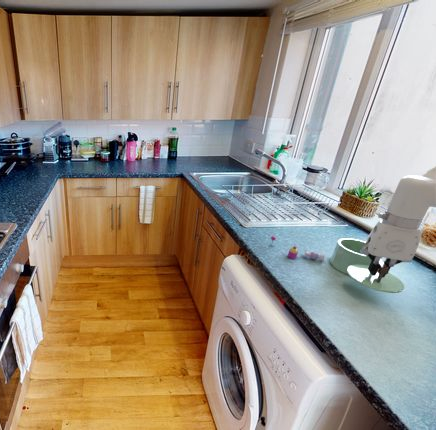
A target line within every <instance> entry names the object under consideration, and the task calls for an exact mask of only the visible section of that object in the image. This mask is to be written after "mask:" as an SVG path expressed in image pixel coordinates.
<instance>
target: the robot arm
mask: <svg viewBox="0 0 436 430" xmlns="http://www.w3.org/2000/svg"><path fill="white" fill-rule="evenodd" d="M429 208H436V165H434V166H432V168H429V169H428V170H427V171H425V172H424V173H422V174H421V175H405V176H403V177H402V178H400V180H399V182H398V184H397V186H396V187H395V191H394V192H393V195H392V198H391V200H390V201H389V204H388V207H387V209H386V210H385V211H384V212H383V213H381V212H380V213H378V215H377V217H378V219H379V220H378V222H376V224H375V225H374V227H373V228H372V230H371V231H370V233H369V235H368V236H367V238H366V240H365V242H366V243H365V246H364V247H363V248H362V249H361V250H360V252H361V253H362V254H364V255H366V256H368V257H369V258H370V259H371V260H372V261H371V263H370V265H369V267H368V270H369V272H370V273H371V275H372V276H375V275H376V273H377V271H378V273H379V274H380V271H379V266H380V265H379V261H380V259H381V257H382V258H385V259H384V260H382V261H383V262H384V263H385V265H386V266H387V267H388V268H389V269H388V271H387V273H384V275H383V278H384V277H385V275H386V274H388V273H389V272H390V270H391V268H393V267H395V265H399V264H401V263H411V262H412V260H413V259H414V257H415V254H416V253H417V249H418V247H419V245H420V241H421V239H422V232H423V229H422V228H421V227H420V226H421V224H422V222H423V220H424V218H425V216H426V214H427V213H428V210H429Z"/></svg>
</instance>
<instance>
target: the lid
mask: <svg viewBox="0 0 436 430" xmlns="http://www.w3.org/2000/svg"><path fill="white" fill-rule="evenodd" d="M383 261H384V260H383V258H382V259H380V261H379V265H380V266H379V271H380V274H379V273H378V271H377V273H376V275H375V276H372V275H371V273H370V272H369V270H368V267H369V266H367V265H351V266H349V267H348V268H347V273H348V274H347V275H348V277H350V278H351V279H352V280H353V281H355V282H357V283H358V284H360V285H362V286H364V287H366V288H369V289H371V290H374V291H378V292H381V293H386V294H399V293H401V292H403V291H404V290H405V284H404V282H403V281H402V280H401V279H399V278H398V277H397V276H395V275H393V274H392V273H389V272H388V274H386V275H385V277H384V278H383V275H384V273H387V271H388V269H389V268H388V267H387V266H386V265H385V263H384V262H383Z"/></svg>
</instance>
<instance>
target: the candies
mask: <svg viewBox="0 0 436 430" xmlns="http://www.w3.org/2000/svg"><path fill="white" fill-rule="evenodd" d="M276 239H277V237H276V236H275V235H272V236H271V237H270V240H271V243H270V246H271V247H272V246H273V242H274V241H276ZM297 248H298V247H297V246H296V243H295V242H294V245H293V246H292V247H291V248H290V249H289V250H288V253H287V257H288V258H289V259H291V260H294V259H297V257H298V253H299V250H298V249H297ZM303 257H304V258H308V257H309V258H310V259H311V260H317V259H318V260H320V261H322V262H324V260H325V254H324V253H322V254H319V253H318V252H317V251H311V252H310V251H308V250H307V249H306V250H304V255H303Z"/></svg>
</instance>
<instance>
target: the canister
mask: <svg viewBox="0 0 436 430" xmlns="http://www.w3.org/2000/svg"><path fill="white" fill-rule="evenodd" d="M365 243H366V241H364V240H360V239H357V238H346V237H345V238H344V237H343V238H340V239H338V240H337V242H336V245H335V247H334V250H333V252H332V255H331V257H330V260H329V262H330V264H331V266H332V267H333V268H335V269H336V270H337V271H339V272H341V273H344V274H345V275H348V273H347V268H348V267H349V266H351V265H367V266H369V265H370V263H371V261H372V260H371V259H370V258H369V257H368V256H366V255H364V254H362V253H361V252H360V250H361V249H362V248H363V247H364V246H365ZM381 259H382V260H383V257H381Z"/></svg>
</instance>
